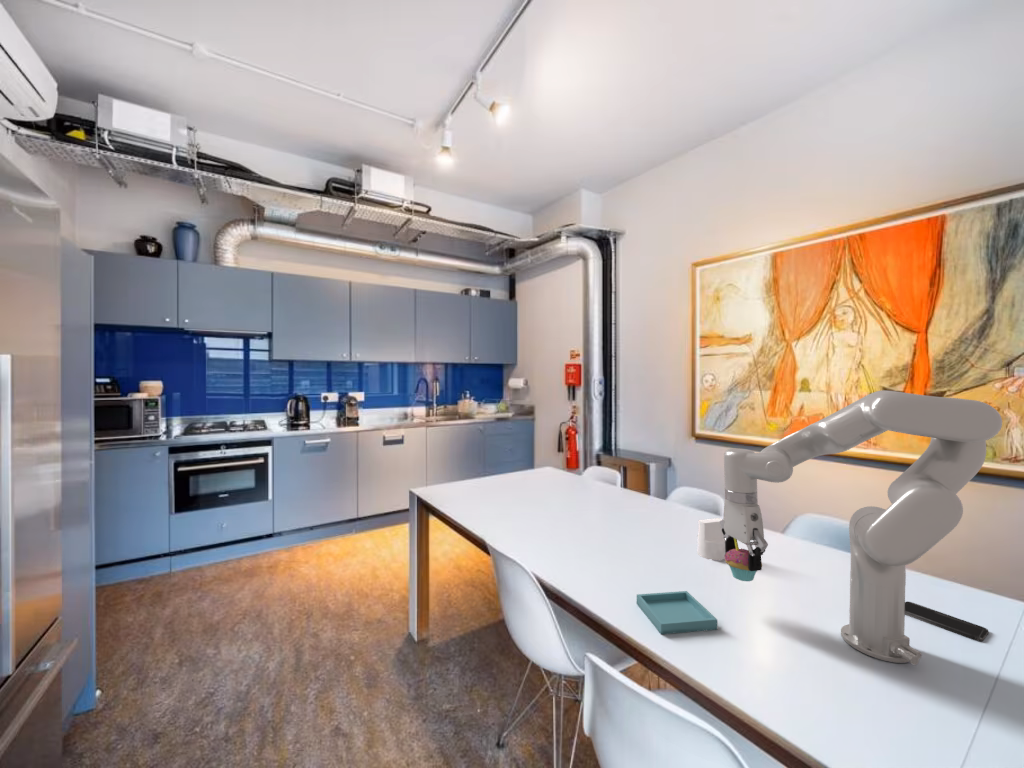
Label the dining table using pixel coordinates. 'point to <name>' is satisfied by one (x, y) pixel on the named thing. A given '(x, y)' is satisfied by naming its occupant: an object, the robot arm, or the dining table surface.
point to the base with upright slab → (710, 539)
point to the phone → (946, 622)
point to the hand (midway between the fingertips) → (742, 562)
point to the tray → (676, 612)
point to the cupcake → (739, 563)
